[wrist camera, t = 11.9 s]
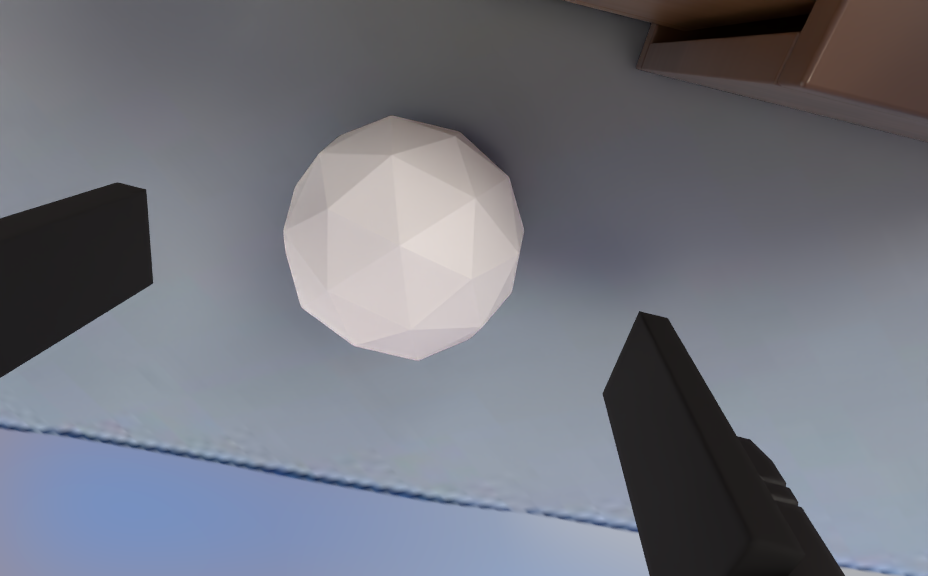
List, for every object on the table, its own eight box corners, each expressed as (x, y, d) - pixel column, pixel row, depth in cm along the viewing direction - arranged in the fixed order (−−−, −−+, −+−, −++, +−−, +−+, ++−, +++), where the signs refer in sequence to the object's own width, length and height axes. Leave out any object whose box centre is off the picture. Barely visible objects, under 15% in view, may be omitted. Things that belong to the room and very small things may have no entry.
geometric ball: (392, 168, 22) (248, 75, 14) (568, 175, 18) (495, 59, 11) (360, 335, 21) (195, 326, 14) (534, 374, 18) (435, 389, 11)
